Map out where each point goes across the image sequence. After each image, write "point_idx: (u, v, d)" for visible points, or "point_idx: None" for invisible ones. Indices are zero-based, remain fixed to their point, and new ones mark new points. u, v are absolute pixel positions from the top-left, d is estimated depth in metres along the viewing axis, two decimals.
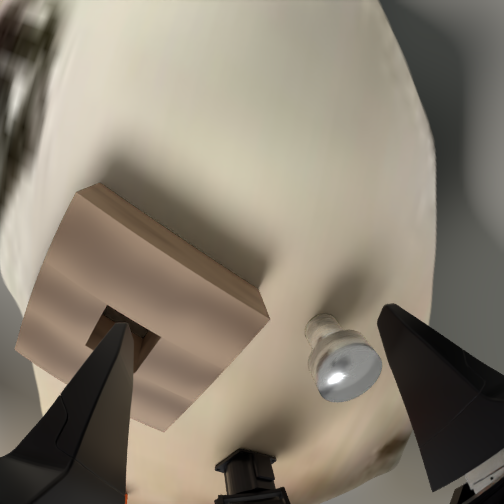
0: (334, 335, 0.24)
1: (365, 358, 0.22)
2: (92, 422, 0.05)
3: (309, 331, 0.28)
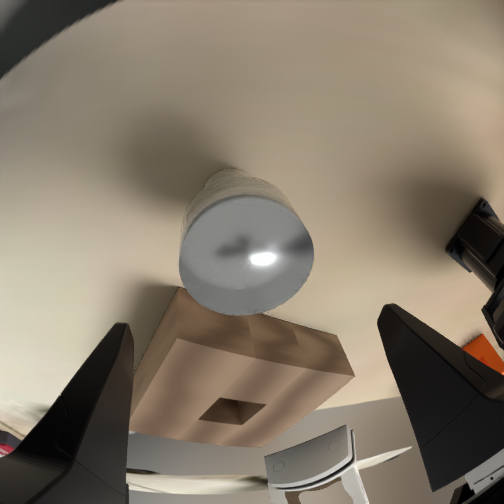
0: None
1: (198, 259, 0.12)
2: (92, 422, 0.05)
3: None
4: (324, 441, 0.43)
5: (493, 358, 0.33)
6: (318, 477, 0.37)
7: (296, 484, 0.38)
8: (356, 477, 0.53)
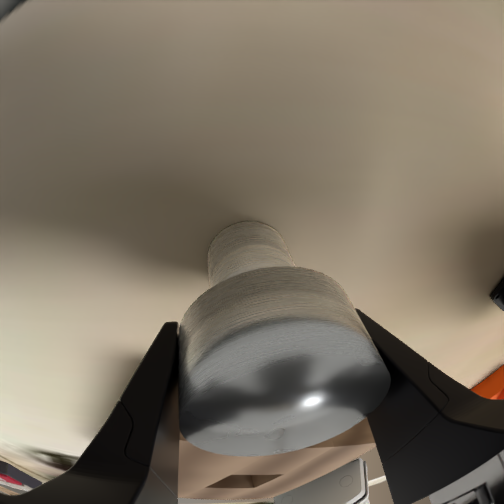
0: None
1: (210, 422, 0.06)
2: (160, 426, 0.06)
3: None
4: (335, 476, 0.37)
5: None
6: None
7: None
8: (364, 501, 0.48)
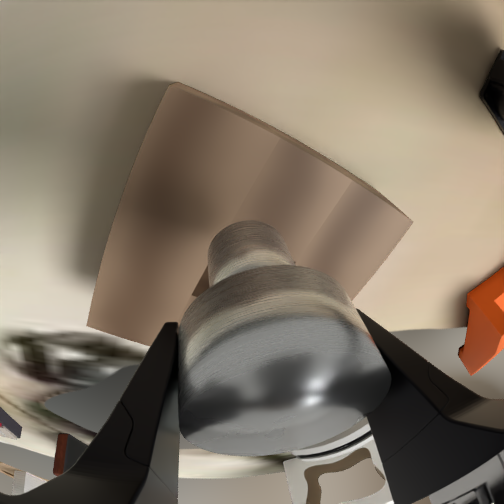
0: None
1: (210, 421, 0.06)
2: (160, 426, 0.06)
3: None
4: None
5: None
6: (353, 436, 0.31)
7: (325, 448, 0.31)
8: None
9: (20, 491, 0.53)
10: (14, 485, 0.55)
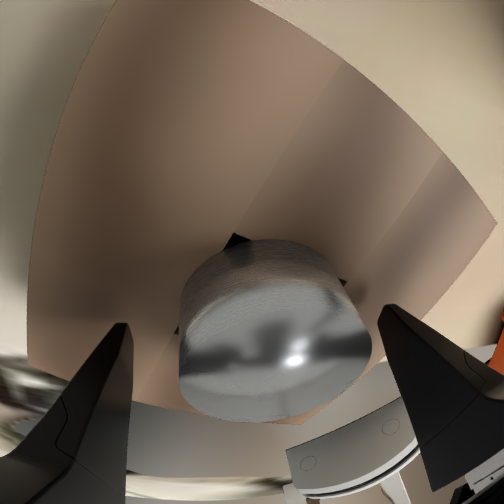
0: None
1: (206, 377, 0.08)
2: (92, 422, 0.05)
3: None
4: (374, 422, 0.29)
5: None
6: (372, 475, 0.23)
7: (338, 488, 0.24)
8: (397, 473, 0.39)
9: None
10: None
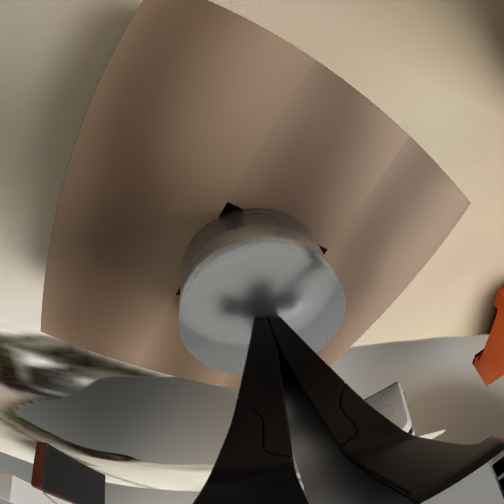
0: None
1: (202, 320, 0.09)
2: None
3: None
4: None
5: None
6: None
7: None
8: None
9: (6, 495, 0.46)
10: None
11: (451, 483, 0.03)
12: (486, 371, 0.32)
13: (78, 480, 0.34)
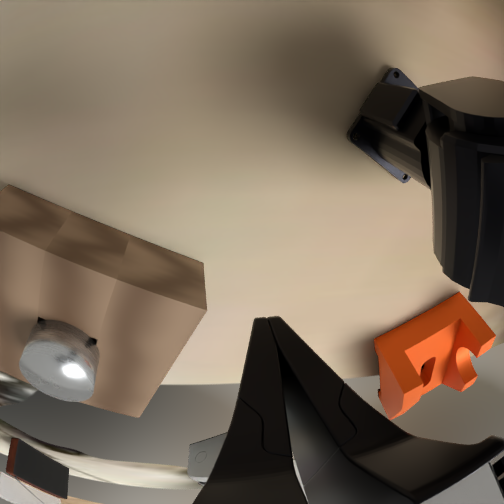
0: None
1: (29, 373, 0.15)
2: None
3: None
4: None
5: (475, 322, 0.27)
6: None
7: None
8: None
9: None
10: None
11: (451, 483, 0.03)
12: (386, 407, 0.38)
13: (45, 470, 0.39)
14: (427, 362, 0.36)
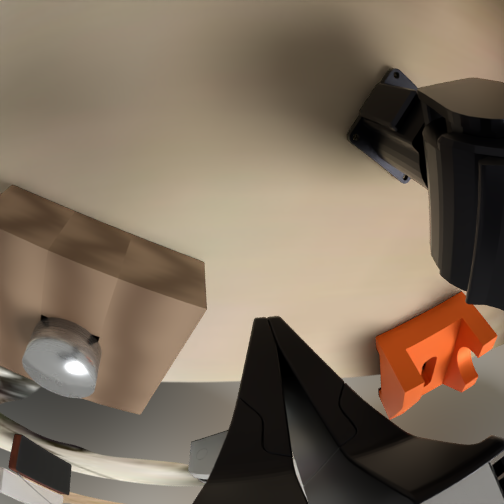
0: None
1: (32, 370, 0.16)
2: None
3: None
4: None
5: (477, 322, 0.27)
6: None
7: None
8: None
9: None
10: None
11: (451, 483, 0.03)
12: (386, 406, 0.38)
13: (47, 466, 0.40)
14: (428, 362, 0.36)
